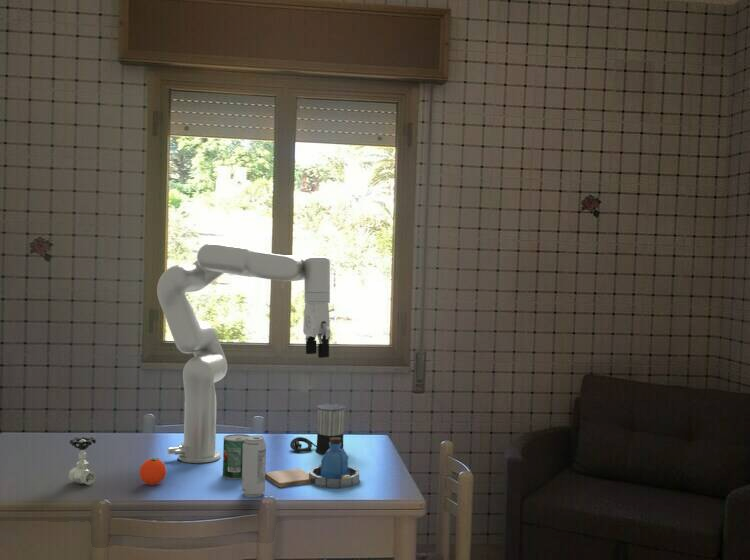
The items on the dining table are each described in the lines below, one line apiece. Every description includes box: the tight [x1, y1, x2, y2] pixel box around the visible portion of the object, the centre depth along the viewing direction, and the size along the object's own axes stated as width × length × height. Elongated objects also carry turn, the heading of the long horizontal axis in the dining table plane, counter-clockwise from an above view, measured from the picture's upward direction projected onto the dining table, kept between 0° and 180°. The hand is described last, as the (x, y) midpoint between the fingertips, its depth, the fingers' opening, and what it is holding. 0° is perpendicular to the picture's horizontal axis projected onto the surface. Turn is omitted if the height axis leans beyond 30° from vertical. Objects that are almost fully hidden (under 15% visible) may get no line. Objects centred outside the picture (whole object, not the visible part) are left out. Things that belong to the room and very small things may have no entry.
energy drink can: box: [241, 435, 267, 498], centre depth 196 cm, size 6×6×15 cm
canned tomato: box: [222, 433, 250, 480], centre depth 213 cm, size 8×8×11 cm
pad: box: [265, 467, 312, 488], centre depth 211 cm, size 11×11×1 cm
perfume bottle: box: [320, 437, 349, 478], centre depth 211 cm, size 6×6×12 cm
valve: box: [68, 436, 97, 486], centre depth 201 cm, size 7×7×12 cm
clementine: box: [139, 457, 167, 486], centre depth 203 cm, size 8×7×7 cm
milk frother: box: [289, 403, 346, 455], centre depth 243 cm, size 14×16×15 cm
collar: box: [308, 463, 360, 489], centre depth 211 cm, size 14×14×3 cm
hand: (317, 355), depth 222 cm, fingers open, 9 cm apart
